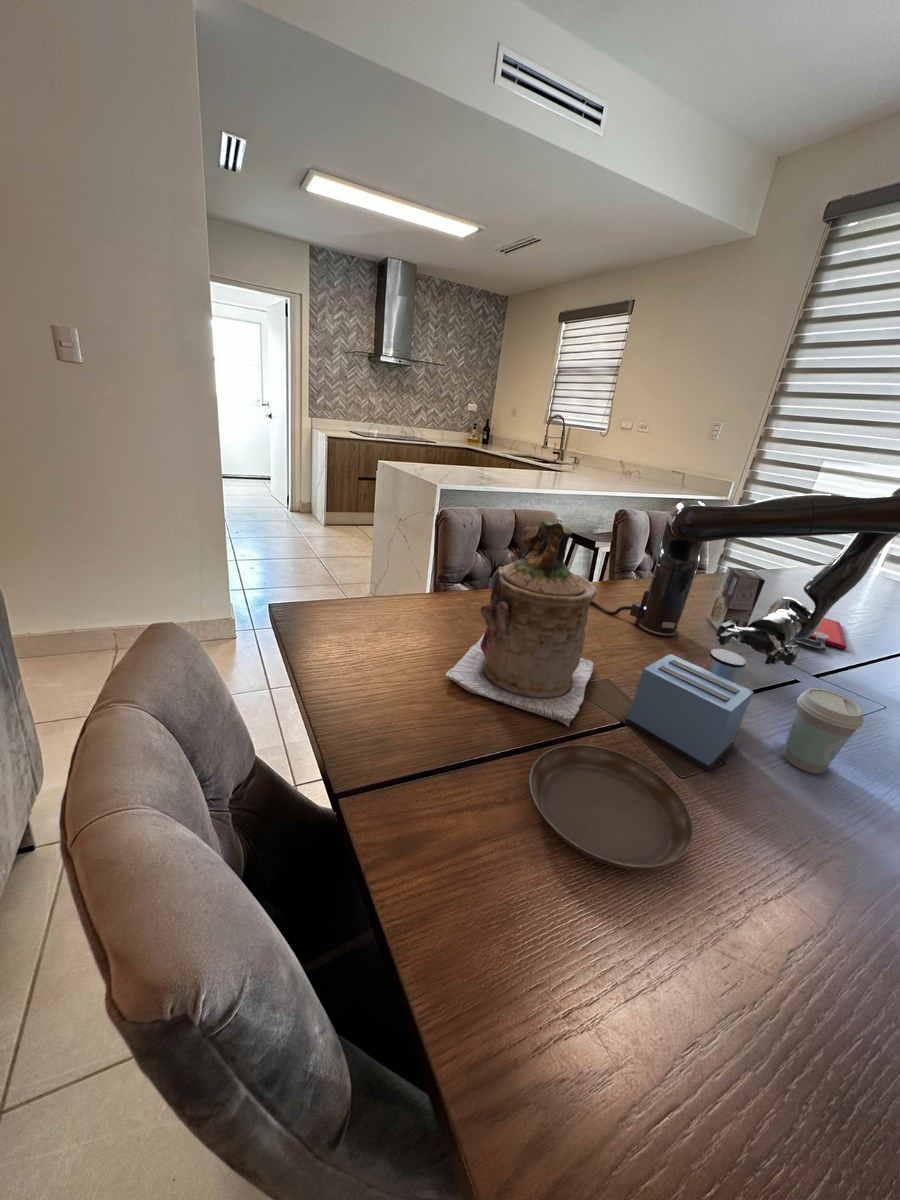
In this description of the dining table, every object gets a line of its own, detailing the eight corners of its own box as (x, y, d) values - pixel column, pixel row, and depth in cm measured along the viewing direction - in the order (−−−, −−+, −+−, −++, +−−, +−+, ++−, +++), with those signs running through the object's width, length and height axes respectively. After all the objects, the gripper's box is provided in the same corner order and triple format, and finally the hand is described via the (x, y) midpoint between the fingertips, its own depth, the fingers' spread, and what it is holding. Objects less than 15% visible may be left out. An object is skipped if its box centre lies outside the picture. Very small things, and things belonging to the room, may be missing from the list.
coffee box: (743, 637, 124) (766, 580, 118) (718, 632, 125) (739, 575, 119) (732, 623, 133) (752, 569, 126) (708, 619, 133) (727, 565, 127)
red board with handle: (777, 639, 125) (846, 661, 117) (782, 629, 124) (851, 651, 116) (779, 609, 148) (837, 626, 141) (783, 601, 147) (841, 618, 140)
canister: (684, 708, 89) (705, 653, 84) (697, 699, 93) (717, 645, 88) (716, 725, 85) (739, 668, 81) (728, 714, 89) (750, 659, 84)
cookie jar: (595, 669, 99) (635, 520, 87) (572, 732, 78) (620, 549, 66) (486, 635, 108) (509, 496, 96) (439, 684, 87) (461, 514, 75)
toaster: (624, 721, 83) (641, 667, 79) (655, 701, 90) (672, 650, 86) (707, 771, 73) (732, 712, 69) (734, 744, 81) (758, 689, 76)
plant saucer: (522, 749, 73) (526, 732, 72) (657, 771, 72) (663, 754, 71) (529, 869, 54) (534, 849, 53) (712, 902, 53) (722, 881, 52)
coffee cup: (817, 786, 73) (851, 723, 68) (763, 750, 80) (790, 691, 75) (844, 772, 77) (878, 711, 72) (790, 739, 84) (818, 682, 79)
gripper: (742, 604, 106) (714, 618, 96) (816, 630, 96) (793, 649, 86) (731, 633, 109) (702, 650, 99) (801, 661, 99) (777, 683, 89)
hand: (744, 650), depth 92 cm, fingers open, 8 cm apart
